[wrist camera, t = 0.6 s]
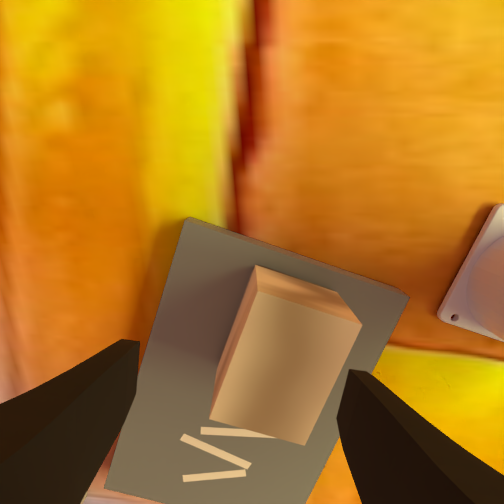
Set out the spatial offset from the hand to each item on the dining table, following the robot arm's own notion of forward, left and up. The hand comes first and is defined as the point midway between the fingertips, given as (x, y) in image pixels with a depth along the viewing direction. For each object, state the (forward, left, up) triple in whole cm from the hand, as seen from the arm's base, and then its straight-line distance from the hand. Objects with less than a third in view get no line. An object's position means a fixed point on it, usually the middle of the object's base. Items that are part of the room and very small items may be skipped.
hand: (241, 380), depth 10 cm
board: (-2, +7, -9) cm, 12 cm away
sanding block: (-2, +1, -8) cm, 8 cm away
